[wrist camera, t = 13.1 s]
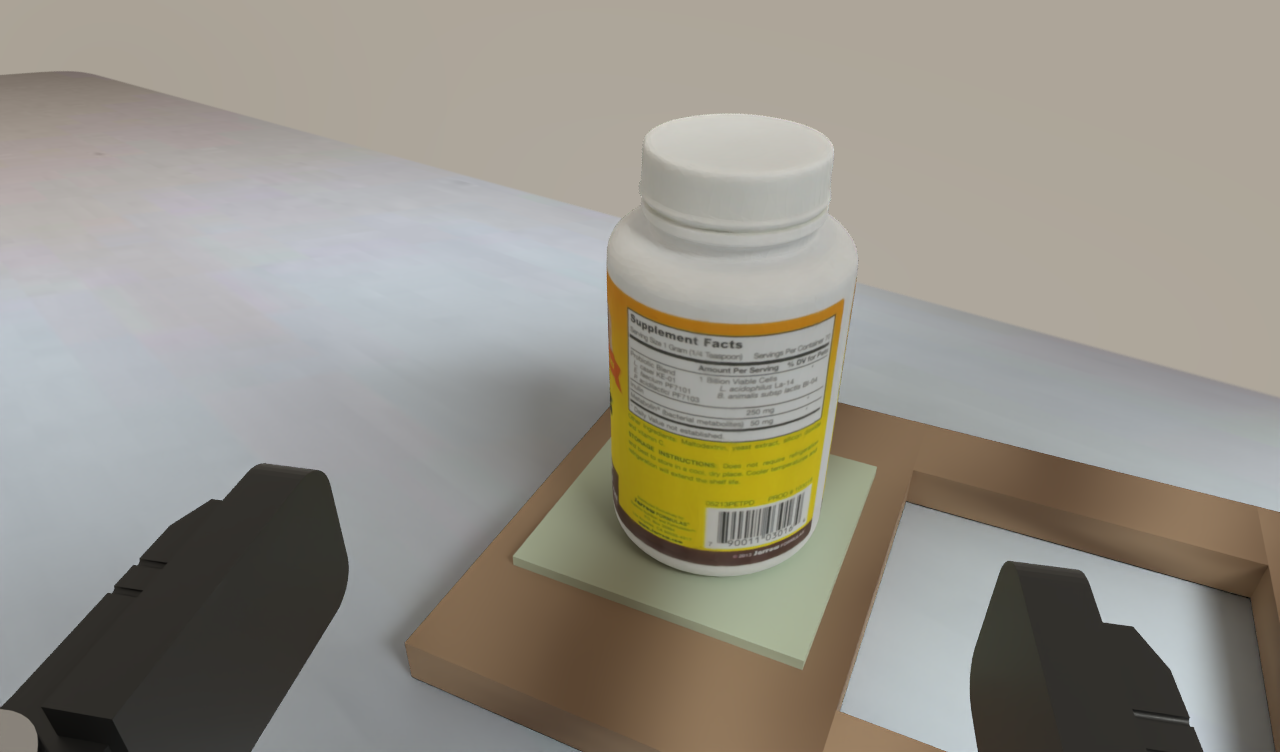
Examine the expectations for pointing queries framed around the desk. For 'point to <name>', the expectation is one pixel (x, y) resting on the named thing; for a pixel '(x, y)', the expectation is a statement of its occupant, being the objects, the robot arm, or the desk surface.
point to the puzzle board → (786, 593)
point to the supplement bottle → (727, 342)
